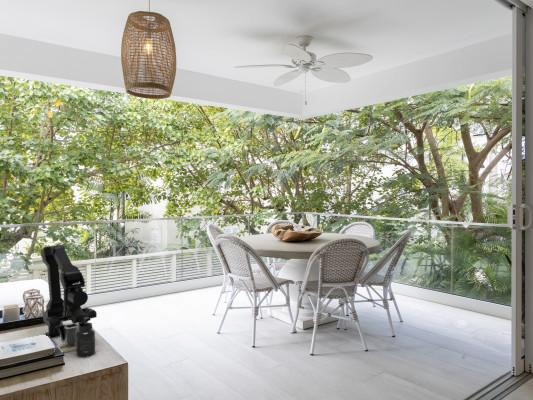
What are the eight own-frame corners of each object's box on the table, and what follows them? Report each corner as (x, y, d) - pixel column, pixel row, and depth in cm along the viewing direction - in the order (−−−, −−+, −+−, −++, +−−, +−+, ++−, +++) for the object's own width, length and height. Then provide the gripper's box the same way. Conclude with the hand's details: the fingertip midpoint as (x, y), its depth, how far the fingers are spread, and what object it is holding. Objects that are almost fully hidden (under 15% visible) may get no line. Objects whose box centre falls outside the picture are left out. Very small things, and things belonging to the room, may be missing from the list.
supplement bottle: (77, 352, 169) (76, 322, 169) (95, 349, 172) (95, 320, 171) (75, 358, 163) (75, 328, 163) (95, 356, 165) (94, 325, 165)
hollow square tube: (60, 341, 174) (60, 325, 174) (76, 337, 179) (76, 322, 178) (67, 345, 170) (66, 329, 169) (83, 340, 174) (82, 325, 174)
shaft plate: (56, 348, 173) (55, 336, 173) (80, 341, 180) (80, 330, 180) (62, 353, 168) (62, 341, 168) (87, 346, 175) (87, 334, 175)
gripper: (55, 309, 161) (55, 349, 162) (102, 300, 175) (102, 337, 175) (44, 303, 169) (44, 342, 169) (90, 294, 182) (90, 330, 183)
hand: (71, 338), depth 174 cm, fingers closed on hollow square tube, 6 cm apart
